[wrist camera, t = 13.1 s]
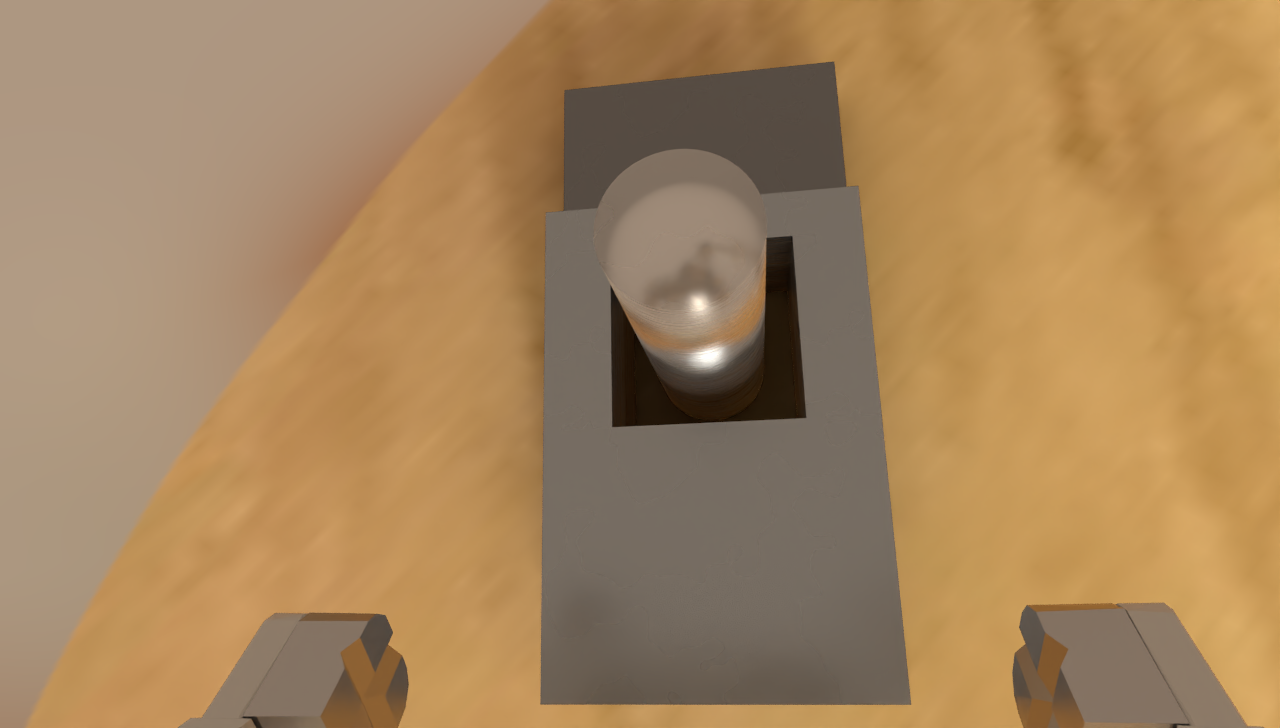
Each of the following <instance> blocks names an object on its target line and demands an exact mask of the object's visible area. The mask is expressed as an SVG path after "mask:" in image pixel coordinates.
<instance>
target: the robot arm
mask: <svg viewBox="0 0 1280 728" xmlns="http://www.w3.org/2000/svg"><path fill="white" fill-rule="evenodd" d="M1019 628H1020V630H1021V633H1022V635H1023V638H1024V641H1025V643H1026V644H1025V645H1024V646H1023V647H1021V648H1020V649H1019V650H1018V651H1017V652H1015V656H1014V664H1013V672H1012V673H1013V685H1014V696H1015V700H1016V704H1017V709H1018V713H1019V716H1020V719H1021V722H1022V725H1023V728H1264V727H1257V726H1247V724H1246V723H1245V721H1244V720H1243V718H1242V716H1241V715H1240V713H1239V712H1238V710H1237V709H1236V707H1235V706H1234V704H1233V702H1232V701H1231V699H1230V698H1229V696H1228V695H1227V693H1226V691H1225V690H1224V688H1223V687H1222V685H1221V684H1220V682H1219V681H1218V679H1217V677H1216V676H1215V674H1214V673H1213V671H1212V670H1211V668H1210V667H1209V665H1208V663H1207V662H1206V660H1205V659H1204V657H1203V656H1202V654H1201V653H1200V651H1199V649H1198V648H1197V646H1196V645H1195V643H1194V642H1193V640H1192V639H1191V637H1190V635H1189V634H1188V632H1187V631H1186V629H1185V628H1184V626H1183V624H1182V623H1181V621H1180V620H1179V618H1178V617H1177V615H1176V614H1175V612H1174V610H1173V609H1171V608H1170V607H1169V606H1167V605H1166V604H1165V603H1120V604H1112V603H1101V604H1057V605H1027V606H1026V607H1025V609H1024V610H1023V612H1022V616H1021V621H1020V626H1019ZM392 634H393V631H392V629H391V627H390V624H389V622H388V620H387V618H386V616H385V615H380V614H355V613H275V614H273V615H272V616H271V617H269V618H268V619H266V620H265V621H264V622H263V624H262V625H261V627H260V628H259V630H258V631H257V633H256V634H255V636H254V637H253V639H252V641H251V642H250V644H249V645H248V647H247V648H246V650H245V651H244V653H243V655H242V656H241V658H240V659H239V661H238V662H237V664H236V665H235V667H234V668H233V670H232V672H231V673H230V675H229V676H228V678H227V679H226V681H225V682H224V684H223V686H222V687H221V689H220V690H219V692H218V693H217V695H216V696H215V698H214V699H213V701H212V703H211V704H210V706H209V707H208V709H207V710H206V712H205V713H204V715H203V717H202V718H190V719H189V720H188V721H186V722H185V723H183V724H182V725H181V726H179V727H178V728H398V726H399V723H400V721H401V718H402V715H403V713H404V710H405V707H406V700H407V692H408V685H409V684H408V675H407V667H406V665H405V662H404V659H403V657H402V655H401V654H400V653H398V652H397V651H396V650H394V649H393V648H392V647H390V646H389V645H388V643H389V641H390V638H391V636H392Z"/></svg>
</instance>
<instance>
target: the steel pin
mask: <svg viewBox="0 0 1280 728" xmlns="http://www.w3.org/2000/svg"><path fill="white" fill-rule="evenodd" d="M766 235H767V219H766V212H765V207H764V204H763V200H762V198H761V196H760V193H759V191H758V189H757V188H756V186H755V185H754V183H753V181H752V180H751V179H750V178H749V177H748V176H747V174H746V173H745V172H744V171H742V170H741V169H740V168H739V167H738V166H737V165H735V164H734V163H732V162H731V161H729V160H727V159H725V158H723V157H721V156H719V155H716V154H713V153H710V152H707V151H702V150H696V149H673V150H667V151H662V152H659V153H655V154H652V155H650V156H647V157H645V158H643V159H641V160H639V161H637V162H636V163H634V164H632V165H631V166H630V167H628V168H627V169H625V170H624V171H623V172H622V173H621V174H620V175H619V176H618V177H617V178H616V179H615V180H614V181H613V182H612V183H611V185H610V186H609V187H608V189H607V190H606V192H605V193H604V195H603V197H602V199H601V201H600V203H599V206H598V209H597V212H596V216H595V221H594V230H593V237H594V246H595V251H596V255H597V258H598V260H599V263H600V265H601V267H602V269H603V271H604V273H605V275H606V277H607V279H608V281H609V283H610V285H611V287H612V288H613V290H614V292H615V294H616V296H617V298H618V300H619V302H620V304H621V306H622V308H623V310H624V312H625V314H626V316H627V318H628V320H629V322H630V323H631V325H632V327H633V329H634V331H635V333H636V335H637V337H638V339H639V341H640V343H641V345H642V347H643V349H644V351H645V353H646V355H647V356H648V358H649V360H650V362H651V364H652V366H653V368H654V370H655V372H656V374H657V376H658V378H659V380H660V382H661V384H662V386H663V388H664V390H665V391H666V393H667V395H668V397H669V398H670V400H671V401H672V403H673V404H674V405H675V406H676V407H677V408H678V409H680V410H681V411H682V412H684V413H686V414H687V415H689V416H692V417H694V418H697V419H701V420H708V421H715V420H723V419H727V418H730V417H732V416H735V415H737V414H738V413H740V412H742V411H743V410H744V409H746V408H747V407H748V406H749V405H750V404H751V403H752V402H753V400H754V399H755V398H756V396H757V394H758V393H759V390H760V388H761V385H762V382H763V376H764V337H765V286H766Z"/></svg>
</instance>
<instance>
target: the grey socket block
mask: <svg viewBox="0 0 1280 728" xmlns="http://www.w3.org/2000/svg"><path fill="white" fill-rule="evenodd" d="M673 149H696V150H702V151H707V152H710V153H713V154H716V155H719V156H721V157H723V158H725V159H727V160H729V161H731V162H732V163H734V164H735V165H737V166H738V167H739V168H740V169H741V170H742V171H744V172H745V173H746V174H747V176H748V177H749V178H750V179H751V180H752V181H753V183H754V185H755V186H756V188H757V189H758V191H759V193H760V196H761V198H762V200H763V204H764V207H765V212H766V219H767V235H766V286H765V292H778V291H787V296H788V309H789V323H790V337H791V350H792V364H793V377H794V391H795V405H796V418H797V419H776V420H755V421H734V422H713V423H692V424H671V425H650V426H636V386H635V336H634V329H633V327H632V325H631V323H630V322H629V320H628V318H627V316H626V314H625V312H624V310H623V308H622V306H621V304H620V302H619V300H618V298H617V296H616V294H615V292H614V290H613V288H612V287H611V285H610V283H609V281H608V279H607V277H606V275H605V273H604V271H603V269H602V267H601V265H600V263H599V260H598V258H597V255H596V251H595V246H594V237H593V230H594V221H595V216H596V212H597V209H598V206H599V203H600V201H601V199H602V197H603V195H604V193H605V192H606V190H607V189H608V187H609V186H610V185H611V183H612V182H613V181H614V180H615V179H616V178H617V177H618V176H619V175H620V174H621V173H622V172H623V171H624V170H625V169H627V168H628V167H630V166H631V165H632V164H634V163H636V162H637V161H639V160H641V159H643V158H645V157H647V156H650V155H652V154H655V153H659V152H662V151H667V150H673ZM541 704H686V705H687V704H688V705H911V699H910V689H909V679H908V669H907V659H906V650H905V640H904V630H903V620H902V610H901V600H900V591H899V581H898V571H897V561H896V551H895V541H894V532H893V522H892V512H891V502H890V492H889V482H888V473H887V463H886V453H885V443H884V433H883V424H882V414H881V404H880V394H879V384H878V374H877V365H876V355H875V345H874V335H873V325H872V315H871V306H870V296H869V286H868V276H867V266H866V256H865V247H864V237H863V227H862V217H861V207H860V197H859V188H858V186H851V187H846V178H845V168H844V157H843V147H842V137H841V127H840V116H839V106H838V96H837V85H836V75H835V65H834V62H826V63H817V64H807V65H798V66H789V67H779V68H770V69H760V70H751V71H742V72H732V73H723V74H713V75H704V76H695V77H685V78H676V79H666V80H657V81H648V82H638V83H629V84H619V85H610V86H601V87H591V88H582V89H572V90H565V98H564V211H559V212H547V213H546V246H545V338H544V431H543V523H542V616H541Z"/></svg>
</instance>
